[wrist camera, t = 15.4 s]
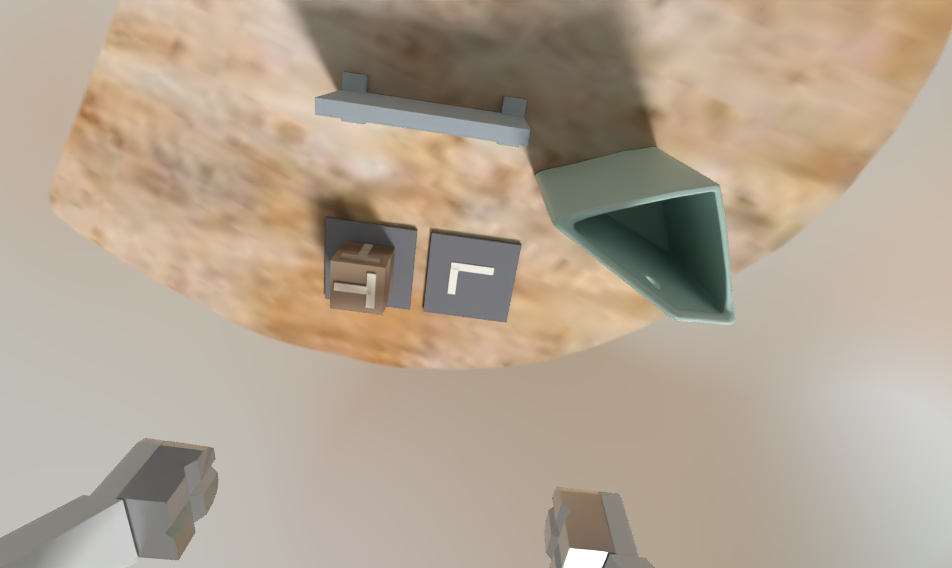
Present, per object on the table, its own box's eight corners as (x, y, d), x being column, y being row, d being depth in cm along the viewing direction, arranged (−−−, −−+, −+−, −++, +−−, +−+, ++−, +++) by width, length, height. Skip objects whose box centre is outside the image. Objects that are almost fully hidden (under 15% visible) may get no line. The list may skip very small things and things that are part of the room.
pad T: (326, 217, 48) (325, 218, 47) (417, 229, 48) (416, 231, 48) (326, 296, 52) (324, 298, 51) (410, 307, 52) (409, 310, 51)
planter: (724, 190, 46) (874, 281, 28) (669, 257, 49) (773, 376, 31) (581, 99, 42) (649, 137, 25) (533, 177, 45) (562, 260, 28)
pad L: (432, 231, 48) (431, 233, 48) (521, 244, 48) (521, 246, 48) (423, 309, 52) (423, 311, 52) (506, 320, 52) (506, 322, 52)
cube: (345, 238, 48) (329, 259, 43) (395, 245, 48) (385, 266, 44) (344, 284, 50) (329, 309, 46) (391, 291, 50) (382, 316, 46)
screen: (344, 71, 42) (314, 76, 35) (526, 99, 42) (534, 110, 35) (343, 119, 43) (315, 133, 36) (518, 145, 44) (524, 164, 37)
